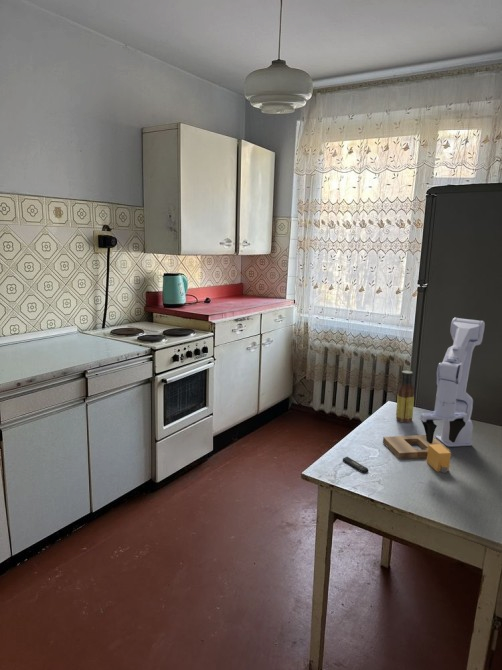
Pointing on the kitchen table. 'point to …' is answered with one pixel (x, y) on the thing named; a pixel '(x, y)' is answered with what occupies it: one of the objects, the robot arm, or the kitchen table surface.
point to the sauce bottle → (405, 398)
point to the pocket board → (403, 447)
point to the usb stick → (355, 465)
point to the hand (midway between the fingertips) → (440, 441)
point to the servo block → (438, 457)
